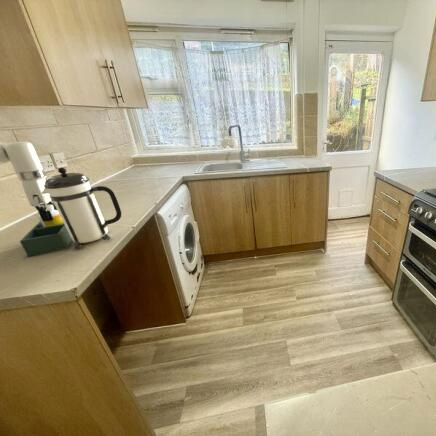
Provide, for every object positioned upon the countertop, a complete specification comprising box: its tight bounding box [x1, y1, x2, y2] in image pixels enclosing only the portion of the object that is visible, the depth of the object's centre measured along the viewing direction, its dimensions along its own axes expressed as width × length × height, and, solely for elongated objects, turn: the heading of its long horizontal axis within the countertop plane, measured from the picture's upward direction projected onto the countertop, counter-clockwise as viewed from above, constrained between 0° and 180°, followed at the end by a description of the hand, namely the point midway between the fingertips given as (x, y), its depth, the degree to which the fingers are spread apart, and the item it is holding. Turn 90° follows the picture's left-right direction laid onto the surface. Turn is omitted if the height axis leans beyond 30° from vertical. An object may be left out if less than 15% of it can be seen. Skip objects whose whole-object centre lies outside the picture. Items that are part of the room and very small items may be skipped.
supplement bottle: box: [37, 205, 64, 227], centre depth 102 cm, size 7×7×13 cm
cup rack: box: [19, 220, 72, 257], centre depth 100 cm, size 11×21×6 cm, turn 29°
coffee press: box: [42, 167, 122, 250], centre depth 95 cm, size 17×16×30 cm
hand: (51, 217), depth 101 cm, fingers closed on supplement bottle, 6 cm apart
